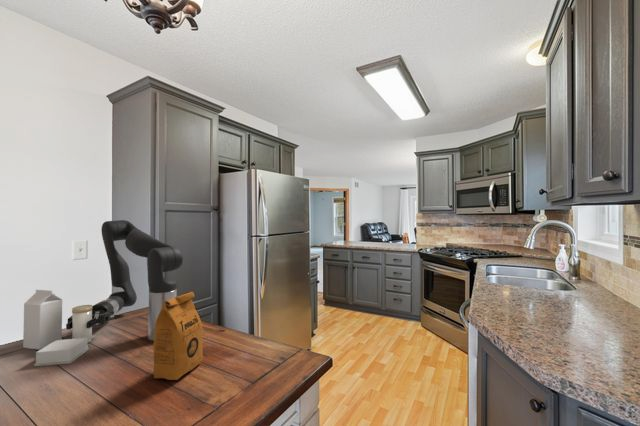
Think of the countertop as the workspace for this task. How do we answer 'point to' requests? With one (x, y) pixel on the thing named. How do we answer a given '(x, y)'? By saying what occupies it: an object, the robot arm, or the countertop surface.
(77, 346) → the riser
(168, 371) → the coffee package
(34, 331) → the milk carton
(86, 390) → the countertop surface
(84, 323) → the jar
